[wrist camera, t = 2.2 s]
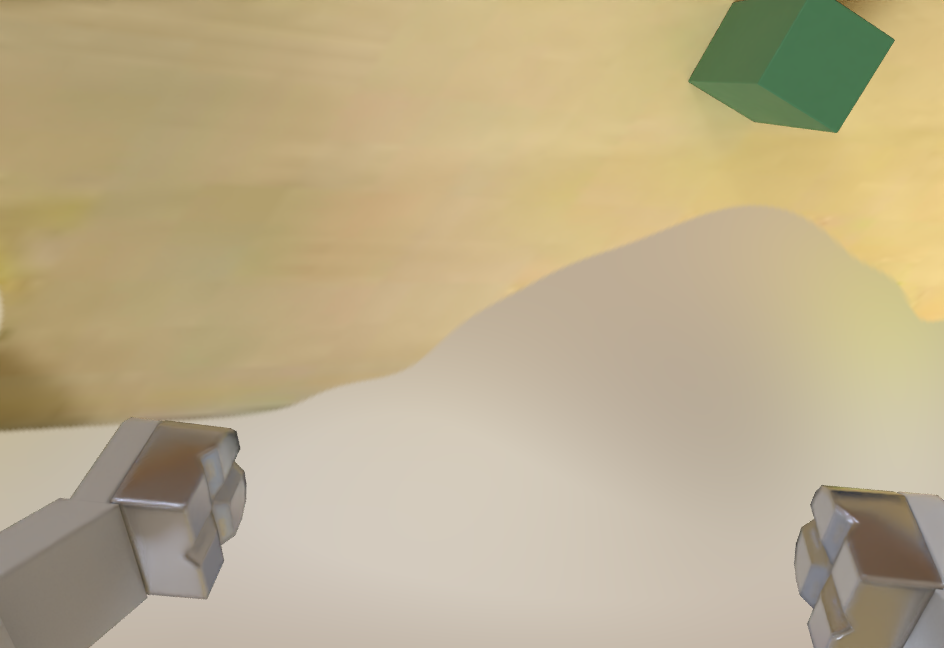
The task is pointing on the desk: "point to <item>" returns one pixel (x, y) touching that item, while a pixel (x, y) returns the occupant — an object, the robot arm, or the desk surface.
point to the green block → (791, 62)
